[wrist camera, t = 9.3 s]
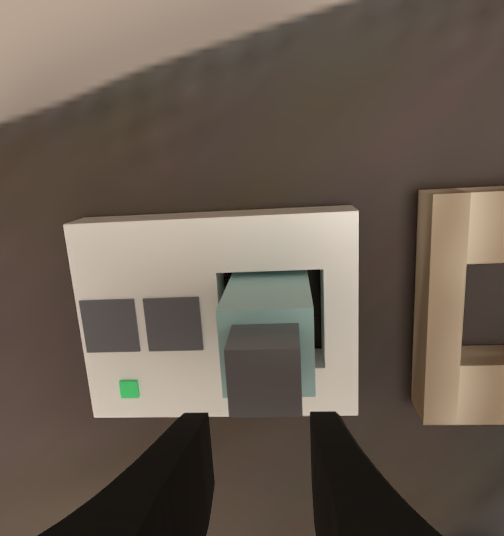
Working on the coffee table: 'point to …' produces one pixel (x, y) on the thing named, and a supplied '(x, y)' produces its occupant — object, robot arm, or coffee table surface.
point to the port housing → (203, 302)
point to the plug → (266, 343)
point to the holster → (455, 307)
